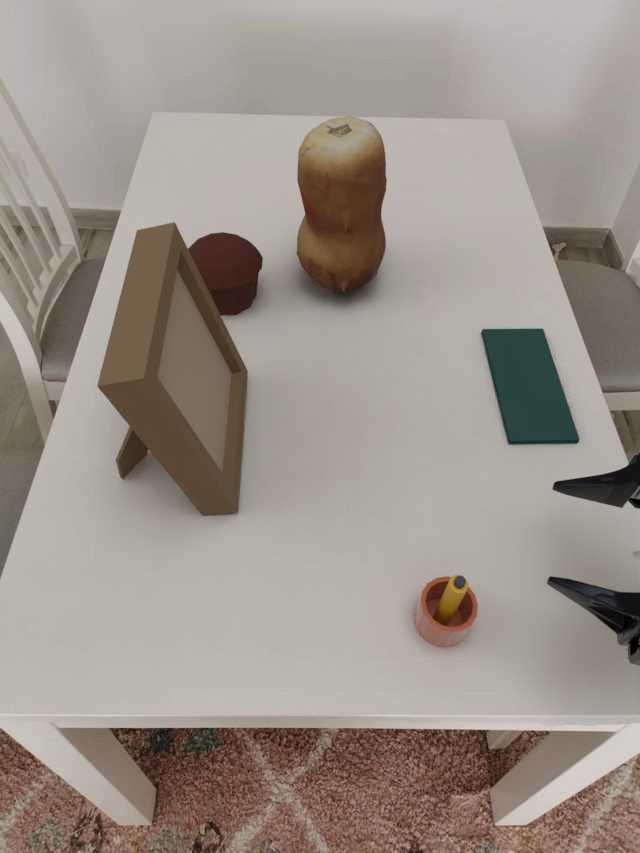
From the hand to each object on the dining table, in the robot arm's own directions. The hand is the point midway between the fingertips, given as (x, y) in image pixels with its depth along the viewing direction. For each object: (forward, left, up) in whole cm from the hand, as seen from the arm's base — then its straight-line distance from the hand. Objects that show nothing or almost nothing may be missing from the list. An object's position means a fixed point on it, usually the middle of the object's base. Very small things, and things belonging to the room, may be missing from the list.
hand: (550, 530), depth 55 cm
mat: (0, -31, -16) cm, 35 cm away
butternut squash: (+30, -45, -16) cm, 56 cm away
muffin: (+46, -37, -16) cm, 61 cm away
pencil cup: (+7, +5, -16) cm, 18 cm away
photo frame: (+42, -10, -16) cm, 46 cm away
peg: (+7, +5, -15) cm, 17 cm away
